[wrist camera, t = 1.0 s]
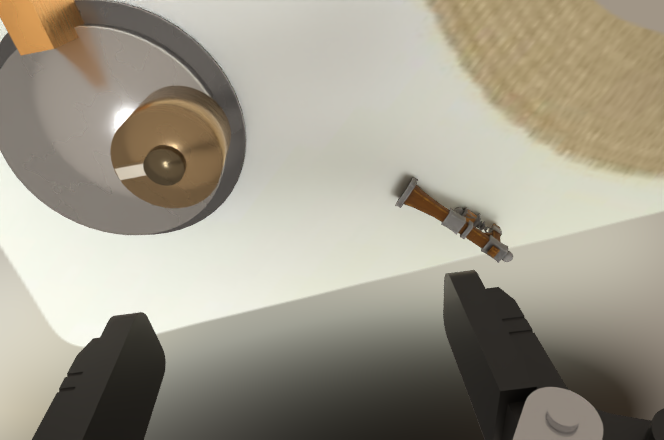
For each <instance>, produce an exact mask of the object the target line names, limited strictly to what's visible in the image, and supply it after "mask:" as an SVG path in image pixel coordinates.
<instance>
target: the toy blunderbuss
mask: <svg viewBox="0 0 664 440" xmlns="http://www.w3.org/2000/svg"><path fill="white" fill-rule="evenodd" d="M417 181H418V179H416V178H414V177H413V178H412V180H411V182H410V184H409V186H408V187H407V189H406V190H405V192H404V193H403V195H402V196H401V198H399V199H398V201H397V203H396V205H395V206H398V207H400V208H401V207H402V205H403V204H405V205H408V206H411V207H414V208H416V209H418V210H420V211H422V212H424V213H426V214H429V215H431V216H433V217H435V218H436V219H438V220H440V221H441V222H442V224H441V225H444V226H446V227H447V228H449V229H450V230H452V231H453V232H454V233H455V234H456V235H457V233H459V234H460V237H462V238H463V239H464V238H465V237H466V238H467V239H469V240H470V241H472V242H473V243H475V244H476V245H478V246H479V247H481V251H482V252H484V253H486V254H487V255H489V256H491V257H492V258H494V259H495V260H496V261H497V262H499V261H500V260H501V259H502V260H503V261H505V262H509V261H511V260H512V259H513V255H512V253H511V252H510V251H508V246H506V245H504V244H503V243H501V242H500V236H501V235H502V231H501V229H500V227H499V226H497V225H496V224H493V225H492V226H491V228H490V227H485V222H483V223H482V221H480V214H478V215H476V214H474V213H473V212H471V211H470V210H469V209H468V208H467V207H466V208H465V210H464V211H463V209H462V208H460V207H458V208H456V209H455V210H454V211H453V210H452V209H451V208H450V210H449V209H447V208H445V207H444V206H442V205H441V204H439V203H438V202H437V201H435V200H434V199H433V198H432V197H430V196H429V195H428V194H426V193H425V192H424V191H423V190H421V189H420V188H419V187H418V186H417V185H416V183H417ZM476 227H477V228H479V227H480V228H479V229H477V228H476ZM487 228H490V229H489V231H488V232H486V230H487ZM483 229H484V230H485V232H486V233H483V232H482V231H481V230H483Z"/></svg>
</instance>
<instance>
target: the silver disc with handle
mask: <svg viewBox="0 0 664 440" xmlns="http://www.w3.org/2000/svg"><path fill="white" fill-rule="evenodd" d="M0 18H1V20H2V22H3V23H4V25H5V27H6V29H7V31H8V33H9V35H10V36H11V38H12V40H13V42H14V44H15V46H16V48H17V50H16V51H15V52H14V53H13V54H12V55H11V56H10V57H9V58H8V59H7V60H6V62H5V63H4V65H3V66H2V68H1V69H0V150H1V153H2V154H3V156H4V158H5V160H6V162H7V163H8V165H9V167H10V168H11V169H12V171H13V172H14V174H15V175H16V176H17V178H18V179H19V180H20V181H21V182H22V183H23V184H24V186H25V187H26V188H27V189H28V190H29V191H30V192H31V193H32V194H34V195H35V196H36V197H37V198H38V199H39V200H40V201H42V202H43V203H44V204H46V205H47V206H48V207H50V208H51V209H53V210H54V211H56V212H58V213H59V214H61V215H62V216H64V217H66V218H68V219H70V220H72V221H74V222H76V223H79V224H82V225H84V226H87V227H89V228H93V229H96V230H100V231H103V232H109V233H114V234H123V235H146V234H154V233H159V232H163V231H167V230H170V229H172V228H175V227H178V226H180V225H182V224H183V223H185V222H187V221H189V220H190V219H192V218H193V217H194V216H196V215H197V214H198V213H199V212H201V211H202V210H203V209H204V208H205V207H206V206H207V204H208V203H209V202H210V200H211V199H212V198H213V196H214V194H215V192H216V190H217V189H218V187H219V184H220V181H221V178H222V175H223V172H224V168H225V164H226V159H227V156H226V159H225V162H224V166H223V169H222V172H221V176H220V179H219V182H218V184H217V186H216V188H215V189H214V191H213V192H212V193H211V194H210V195H209V196H208V197H207V198H206V199H204V200H203V201H201V202H199V203H198V204H195V205H192V206H189V207H184V208H165V207H160V206H156V205H153V204H150V203H148V202H145V201H144V200H142V199H140V198H138V197H137V196H135V195H134V194H133V193H132V192H130V191H129V190H128V189H127V188H126V187H125V186H124V185H123V184H122V182H121V181H120V179H119V178H118V176H117V175H116V173H115V170H114V168H113V165H112V161H111V155H110V150H111V143H112V139H113V137H114V134H115V133H116V131H117V129H118V128H119V127H120V126H121V125H122V123H123V122H124V121H125V120H126V119H127V118H128V117H129V116H130V115H131V114H132V113H133V111H134V110H135V109H136V108H137V107H138V106H139V105H140V104H141V103H142V102H143V101H144V99H145V98H146V97H147V96H149V95H150V94H151V93H152V92H154V91H156V90H158V89H160V88H163V87H167V86H187V87H191V88H194V89H197V90H199V91H201V92H203V93H205V94H207V95H208V96H210V97H211V98H212V99H213V100H214V101H216V99H215V98H214V96H213V94H212V92H211V90H210V89H209V88H208V86H207V85H206V83H205V82H204V80H203V79H202V78H201V77H200V76H199V74H198V73H197V72H196V71H195V70H194V69H193V68H192V67H191V66H190V65H189V64H188V63H187V62H186V61H185V60H184V59H182V58H181V57H180V56H179V55H178V54H176V53H175V52H174V51H172V50H171V49H169V48H168V47H166V46H165V45H163V44H161V43H160V42H158V41H156V40H154V39H152V38H151V37H148V36H146V35H143V34H141V33H139V32H136V31H133V30H130V29H126V28H123V27H119V26H114V25H107V24H92V23H84V22H83V19H82V17H81V15H80V13H79V10H78V8H77V6H76V4H75V1H74V0H0ZM216 102H217V101H216ZM217 104H218V103H217Z"/></svg>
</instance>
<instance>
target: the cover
mask: <svg viewBox="0 0 664 440" xmlns="http://www.w3.org/2000/svg"><path fill="white" fill-rule="evenodd" d="M230 141H231V129H230V125H229V121H228V119H227V116H226V115H225V113H224V111H223V110H222V108H221V107H220V106H219V105H218V104H217V102H216V101H214V100H213V99H212V98H211V97H210V96H208V95H207V94H205V93H203V92H201V91H199V90H197V89H194V88H191V87H187V86H167V87H163V88H160V89H158V90H156V91H154V92H152V93H151V94H150V95H149V96H147V97H146V98H145V99H144V101H143V102H142V103H141V104H140V105H139V106H138V107H137V108H136V109H135V110H134V111H133V113H132V114H131V115H130V116H129V117H128V118H127V119H126V120H125V121H124V122H123V123H122V125H121V126H120V127H119V128H118V129H117V131H116V133H115V134H114V137H113V139H112V143H111V150H110V155H111V161H112V165H113V168H114V170H115V173H116V175H117V176H118V178H119V179H120V181H121V182H122V184H123V185H124V186H125V187H126V188H127V189H128V190H129V191H130V192H132V193H133V194H134V195H135V196H137V197H138V198H140V199H142V200H144V201H145V202H148V203H150V204H153V205H156V206H160V207H165V208H184V207H189V206H192V205H195V204H198V203H199V202H201V201H203V200H204V199H206V198H207V197H208V196H209V195H210V194H211V193H212V192H213V191H214V189H215V188H216V186H217V184H218V182H219V179H220V176H221V172H222V169H223V166H224V162H225V159H226V156H227V153H228V149H229V146H230Z"/></svg>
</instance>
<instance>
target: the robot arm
mask: <svg viewBox="0 0 664 440" xmlns="http://www.w3.org/2000/svg"><path fill="white" fill-rule="evenodd" d="M443 313H444V314H443V315H444V316H443V317H444V326H445V331H446V335H447V338H448V341H449V344H450V346H451V349H452V352H453V355H454V357H455V360H456V363H457V365H458V368H459V371H460V374H461V376H462V379H463V382H464V385H465V387H466V390H467V393H468V395H469V398H470V401H471V403H472V406H473V409H474V412H475V414H476V417H477V420H478V422H479V425H480V428H481V431H482V433H483V436H484V439H485V440H664V409H662V410H660V411H658V412H657V413H656V414H655V416H654V417H653V419H652V421H650V420H644V419H638V418H632V417H626V416H620V415H614V414H610V413H606V412H603V411H600V410H597V409H595V408H594V407H593V406H592V405H591V404H590V403H589V402H588V401H587V400H585V399H584V398H583V397H581V396H580V395H578V394H576V393H574V392H572V391H570V390H569V389H568V388H567V387H566V385H565V384H564V382H563V380H562V379H561V377H560V375H559V374H558V372H557V370H556V369H555V367H554V365H553V364H552V362H551V360H550V359H549V357H548V355H547V354H546V352H545V350H544V348H543V347H542V345H541V343H540V342H539V340H538V338H537V337H536V335H535V333H533V332H532V328H531V327H530V325H529V323H528V321H527V320H526V319H525V318H524V315H523V313H522V311H521V310H520V308H519V306H518V305H517V303H516V301H515V300H514V299H513V298H511V297H510V296H509V295H508V294H506V293H505V292H504V291H503V290H502V289H500V288H499V287H495V288H487V289H485V287H484V285H483V283H482V281H481V279H480V278H479V276H478V274H477V272H476V271H475V270H470V271H463V272H455V273H447V274H446V275H445V280H444V310H443ZM164 372H165V355H164V351H163V349H162V346H161V344H160V342H159V340H158V338H157V336H156V334H155V332H154V330H153V328H152V326H151V323H150V321H149V319H148V317H147V316H146V314H144V313H142V312H140V313H133V314H125V315H117V316H113V317H111V318H110V320H109V321H108V323H107V325H106V327H105V329H104V331H103V333H102V335H101V337H100V338H94V339H92V340H91V341H90V342H89V343H88V345H87V346H86V347H85V348H84V349H83V350H82V351H81V352H80V353H79V354H78V355H77V356H76V358H75V360H74V362H73V364H72V366H71V367H70V369H69V372H68V373H67V375H68V376H67V377H66V378H65V379H64V381H63V382H62V384H61V386H60V388H59V392H58V393H57V394H56V396H55V398H54V399H53V401H52V403H51V405H50V407H49V409H48V410H47V412H46V414H45V416H44V418H43V420H42V422H41V424H40V425H39V427H38V429H37V431H36V433H35V435H34V437H33V439H32V440H144V437H145V434H146V431H147V428H148V424H149V421H150V418H151V414H152V411H153V408H154V405H155V402H156V399H157V396H158V392H159V389H160V386H161V382H162V379H163V376H164Z"/></svg>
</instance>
